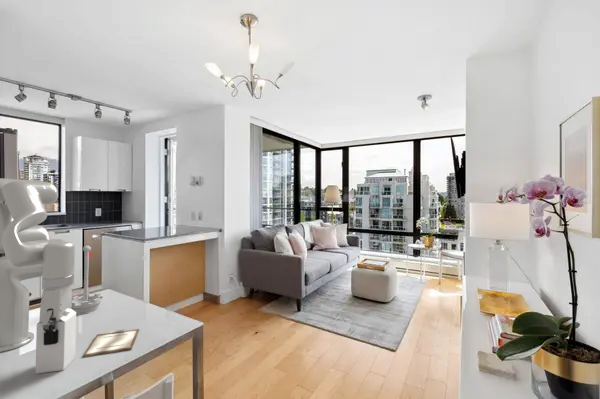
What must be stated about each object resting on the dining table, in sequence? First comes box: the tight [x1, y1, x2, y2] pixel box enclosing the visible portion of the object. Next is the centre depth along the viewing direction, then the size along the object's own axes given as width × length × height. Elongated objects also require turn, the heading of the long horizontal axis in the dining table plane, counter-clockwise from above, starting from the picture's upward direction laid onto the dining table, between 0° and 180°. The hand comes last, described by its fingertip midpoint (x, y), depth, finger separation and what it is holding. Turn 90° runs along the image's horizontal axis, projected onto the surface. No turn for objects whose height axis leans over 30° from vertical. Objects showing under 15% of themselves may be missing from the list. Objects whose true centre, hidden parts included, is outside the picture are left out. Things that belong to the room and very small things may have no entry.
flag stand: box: [71, 245, 104, 315], centre depth 129 cm, size 13×13×30 cm
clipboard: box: [82, 328, 140, 358], centre depth 100 cm, size 14×15×1 cm
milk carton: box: [35, 308, 77, 374], centre depth 86 cm, size 7×7×19 cm
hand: (57, 337), depth 86 cm, fingers closed on milk carton, 7 cm apart
